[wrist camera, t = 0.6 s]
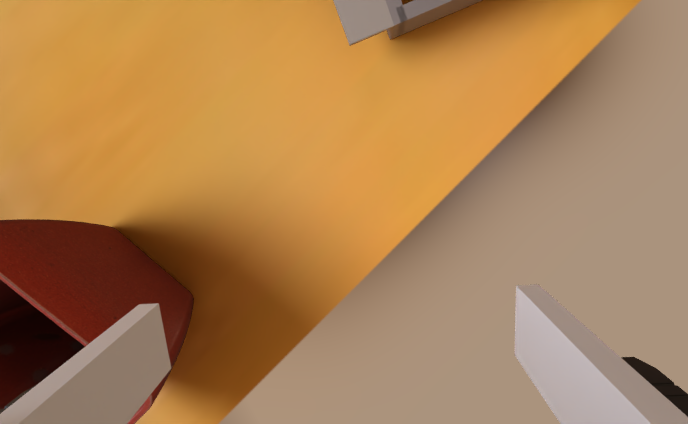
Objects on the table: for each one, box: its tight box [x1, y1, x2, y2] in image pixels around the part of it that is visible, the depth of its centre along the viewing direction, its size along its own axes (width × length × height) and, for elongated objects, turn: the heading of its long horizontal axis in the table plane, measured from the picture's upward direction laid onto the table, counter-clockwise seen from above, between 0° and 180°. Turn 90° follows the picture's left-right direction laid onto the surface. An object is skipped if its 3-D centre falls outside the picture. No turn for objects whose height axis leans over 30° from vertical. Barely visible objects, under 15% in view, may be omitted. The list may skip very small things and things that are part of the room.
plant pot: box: [0, 220, 194, 424], centre depth 36 cm, size 19×19×17 cm
